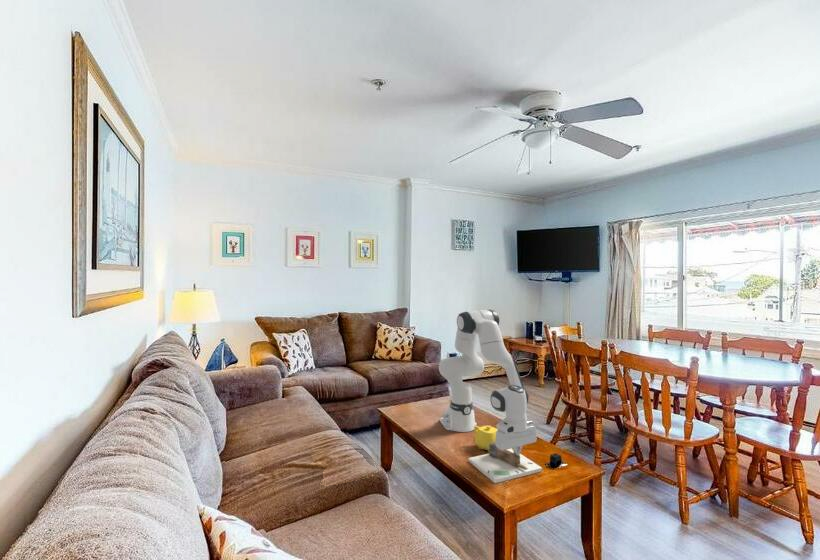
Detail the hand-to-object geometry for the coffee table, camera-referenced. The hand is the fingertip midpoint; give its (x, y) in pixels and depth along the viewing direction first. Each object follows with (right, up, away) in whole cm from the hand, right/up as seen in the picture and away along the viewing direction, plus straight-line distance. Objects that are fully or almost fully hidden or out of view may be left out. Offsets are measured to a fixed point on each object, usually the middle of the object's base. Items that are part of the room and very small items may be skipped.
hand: (516, 455), depth 168 cm
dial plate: (-5, -5, +1) cm, 7 cm away
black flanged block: (+18, -6, +2) cm, 19 cm away
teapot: (-8, -5, +18) cm, 20 cm away
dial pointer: (-4, -3, +1) cm, 5 cm away
